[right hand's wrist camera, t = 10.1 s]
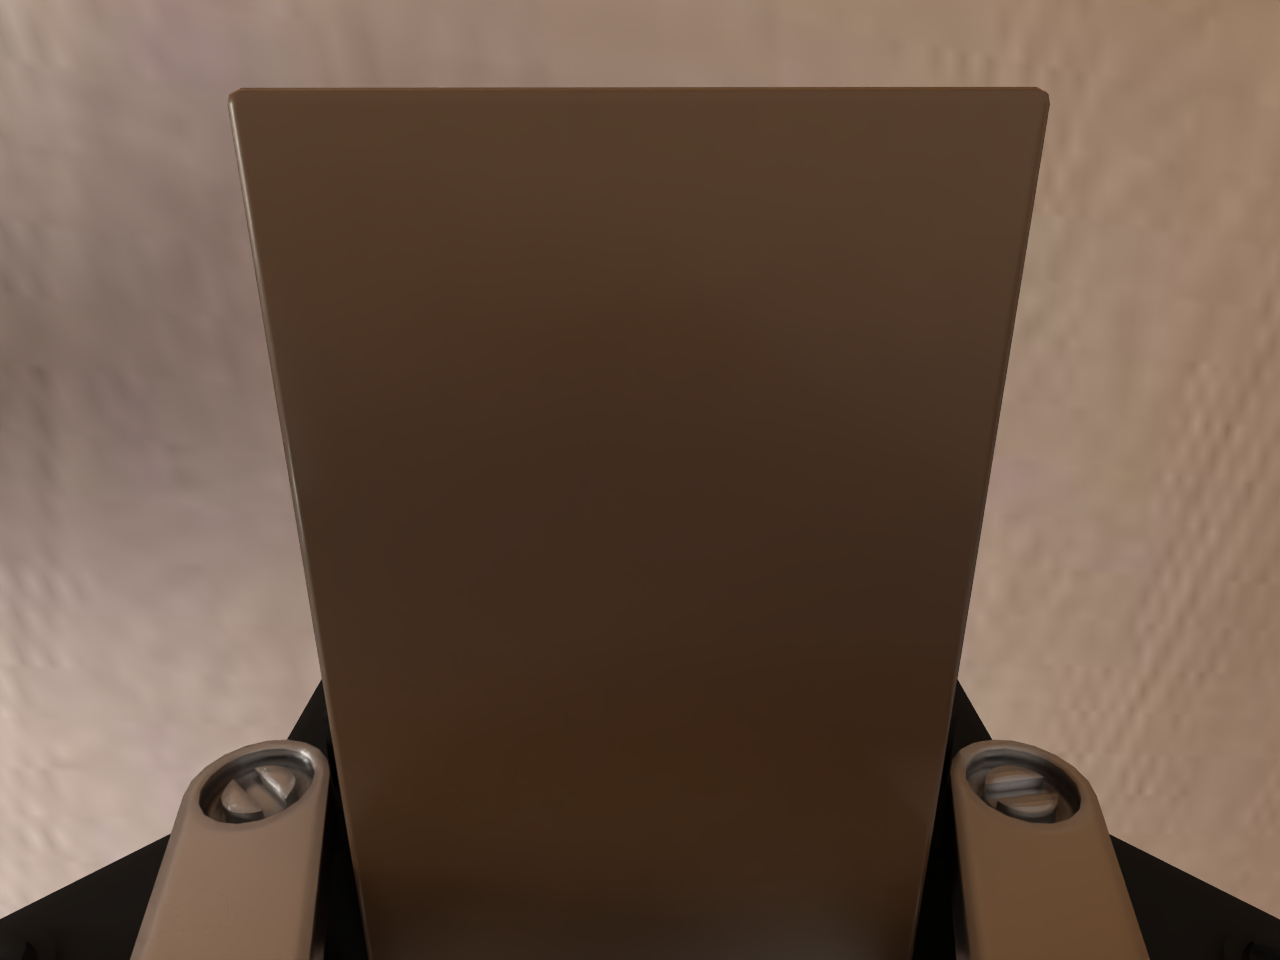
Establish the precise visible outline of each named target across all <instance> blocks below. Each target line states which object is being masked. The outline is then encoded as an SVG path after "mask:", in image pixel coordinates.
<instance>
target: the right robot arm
mask: <svg viewBox="0 0 1280 960" xmlns="http://www.w3.org/2000/svg"><path fill="white" fill-rule="evenodd" d="M0 960H368V956H367V950H366V944H365V937H364V931H363V925H362V919H361V913H360V907H359V901H358V895H357V889H356V883H355V877H354V870H353V864H352V858H351V852H350V846H349V840H348V834H347V828H346V822H345V816H344V810H343V803H342V797H341V791H340V785H339V779H338V773H337V767H336V761H335V755H334V749H333V743H332V736H331V730H330V724H329V718H328V712H327V706H326V700H325V694H324V688H323V682H322V680H321V681H320V683H319V685H318V687H317V688H316V690H315V692H314V694H313V695H312V697H311V699H310V701H309V702H308V704H307V706H306V707H305V709H304V711H303V713H302V714H301V716H300V718H299V720H298V721H297V723H296V725H295V727H294V728H293V730H292V732H291V734H290V735H289V737H288V739H287V740H274V741H265V742H260V743H256V744H252V745H248V746H245V747H242V748H240V749H237V750H235V751H233V752H230V753H228V754H226V755H224V756H222V757H221V758H219V759H217V760H216V761H214V762H213V763H211V764H210V765H208V766H207V767H205V768H204V769H203V770H202V771H201V772H200V773H199V774H198V775H197V776H196V777H195V778H194V779H193V780H192V781H191V783H190V785H189V787H188V789H187V790H186V792H185V794H184V796H183V799H182V802H181V805H180V808H179V811H178V814H177V817H176V820H175V823H174V826H173V829H172V832H171V834H169V835H167V836H165V837H163V838H161V839H159V840H157V841H155V842H153V843H151V844H149V845H147V846H145V847H143V848H141V849H139V850H137V851H135V852H133V853H131V854H129V855H127V856H125V857H123V858H121V859H119V860H117V861H115V862H113V863H111V864H109V865H107V866H105V867H103V868H101V869H99V870H97V871H95V872H93V873H91V874H89V875H87V876H85V877H83V878H81V879H79V880H77V881H75V882H74V883H72V884H70V885H68V886H66V887H64V888H62V889H60V890H58V891H56V892H54V893H52V894H50V895H48V896H46V897H44V898H42V899H40V900H38V901H36V902H34V903H32V904H30V905H28V906H26V907H24V908H22V909H20V910H18V911H16V912H14V913H12V914H10V915H8V916H6V917H4V918H2V919H0ZM912 960H1280V919H1278V918H1276V917H1274V916H1272V915H1270V914H1268V913H1266V912H1264V911H1262V910H1260V909H1258V908H1256V907H1254V906H1252V905H1250V904H1248V903H1246V902H1244V901H1242V900H1240V899H1238V898H1236V897H1234V896H1232V895H1230V894H1228V893H1226V892H1224V891H1222V890H1220V889H1218V888H1216V887H1214V886H1212V885H1210V884H1208V883H1206V882H1204V881H1202V880H1200V879H1198V878H1196V877H1194V876H1192V875H1190V874H1188V873H1186V872H1184V871H1182V870H1180V869H1178V868H1176V867H1174V866H1172V865H1170V864H1168V863H1166V862H1164V861H1162V860H1160V859H1158V858H1156V857H1154V856H1152V855H1150V854H1148V853H1146V852H1144V851H1142V850H1140V849H1138V848H1136V847H1134V846H1132V845H1130V844H1128V843H1126V842H1124V841H1122V840H1120V839H1118V838H1116V837H1114V836H1112V835H1110V834H1109V832H1108V829H1107V826H1106V823H1105V820H1104V817H1103V814H1102V811H1101V808H1100V805H1099V802H1098V799H1097V796H1096V794H1095V792H1094V790H1093V789H1092V787H1091V785H1090V783H1089V781H1088V780H1087V779H1086V778H1085V777H1084V776H1083V775H1082V774H1081V773H1080V772H1079V771H1078V770H1077V769H1076V768H1075V767H1073V766H1072V765H1070V764H1069V763H1067V762H1066V761H1064V760H1063V759H1061V758H1059V757H1058V756H1056V755H1054V754H1052V753H1050V752H1047V751H1045V750H1043V749H1040V748H1038V747H1035V746H1032V745H1028V744H1024V743H1020V742H1015V741H1006V740H992V739H991V737H990V735H989V733H988V732H987V730H986V728H985V726H984V725H983V723H982V721H981V720H980V718H979V716H978V714H977V713H976V711H975V709H974V707H973V706H972V704H971V702H970V700H969V699H968V697H967V695H966V693H965V692H964V690H963V688H962V686H961V685H960V683H959V681H958V679H957V684H956V690H955V696H954V702H953V708H952V715H951V721H950V727H949V733H948V739H947V746H946V752H945V758H944V764H943V771H942V777H941V783H940V789H939V795H938V802H937V808H936V814H935V820H934V826H933V833H932V839H931V845H930V851H929V858H928V864H927V870H926V876H925V882H924V889H923V895H922V901H921V907H920V913H919V920H918V926H917V932H916V938H915V945H914V951H913V957H912Z"/></svg>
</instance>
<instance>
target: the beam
mask: <svg viewBox="0 0 1280 960" xmlns="http://www.w3.org/2000/svg"><path fill="white" fill-rule="evenodd" d="M1049 106H1050V103H1049V95H1048V93H1047V92H1045V91H1043V90H1041V89H1039V88H1037V87H631V88H240V89H238V90H236V91H234V92H232V93H231V94H230V95H229V101H228V109H229V115H230V121H231V127H232V133H233V140H234V146H235V152H236V158H237V164H238V170H239V176H240V182H241V188H242V194H243V200H244V207H245V213H246V219H247V225H248V231H249V237H250V243H251V249H252V255H253V261H254V267H255V274H256V280H257V286H258V292H259V298H260V304H261V310H262V316H263V322H264V328H265V334H266V341H267V347H268V353H269V359H270V365H271V371H272V377H273V383H274V389H275V395H276V401H277V408H278V414H279V420H280V426H281V432H282V438H283V444H284V450H285V456H286V462H287V468H288V475H289V481H290V487H291V493H292V499H293V505H294V511H295V517H296V523H297V529H298V535H299V542H300V548H301V554H302V560H303V566H304V572H305V578H306V584H307V590H308V596H309V602H310V609H311V615H312V621H313V627H314V633H315V639H316V645H317V651H318V657H319V663H320V669H321V676H322V682H323V688H324V694H325V700H326V706H327V712H328V718H329V724H330V730H331V736H332V743H333V749H334V755H335V761H336V767H337V773H338V779H339V785H340V791H341V797H342V803H343V810H344V816H345V822H346V828H347V834H348V840H349V846H350V852H351V858H352V864H353V870H354V877H355V883H356V889H357V895H358V901H359V907H360V913H361V919H362V925H363V931H364V937H365V944H366V950H367V956H368V960H912V957H913V951H914V945H915V938H916V932H917V926H918V920H919V913H920V907H921V901H922V895H923V889H924V882H925V876H926V870H927V864H928V858H929V851H930V845H931V839H932V833H933V826H934V820H935V814H936V808H937V802H938V795H939V789H940V783H941V777H942V771H943V764H944V758H945V752H946V746H947V739H948V733H949V727H950V721H951V715H952V708H953V702H954V696H955V690H956V684H957V677H958V671H959V665H960V659H961V653H962V646H963V640H964V634H965V628H966V621H967V615H968V609H969V603H970V597H971V590H972V584H973V578H974V572H975V566H976V559H977V553H978V547H979V541H980V534H981V528H982V522H983V516H984V510H985V503H986V497H987V491H988V485H989V479H990V472H991V466H992V460H993V454H994V447H995V441H996V435H997V429H998V423H999V416H1000V410H1001V404H1002V398H1003V392H1004V385H1005V379H1006V373H1007V367H1008V360H1009V354H1010V348H1011V342H1012V336H1013V329H1014V323H1015V317H1016V311H1017V305H1018V298H1019V292H1020V286H1021V280H1022V273H1023V267H1024V261H1025V255H1026V249H1027V242H1028V236H1029V230H1030V224H1031V218H1032V211H1033V205H1034V199H1035V193H1036V186H1037V180H1038V174H1039V168H1040V162H1041V155H1042V149H1043V143H1044V137H1045V131H1046V124H1047V118H1048V112H1049Z"/></svg>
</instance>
